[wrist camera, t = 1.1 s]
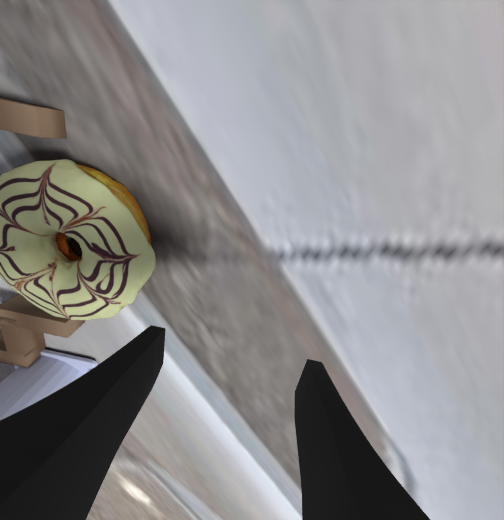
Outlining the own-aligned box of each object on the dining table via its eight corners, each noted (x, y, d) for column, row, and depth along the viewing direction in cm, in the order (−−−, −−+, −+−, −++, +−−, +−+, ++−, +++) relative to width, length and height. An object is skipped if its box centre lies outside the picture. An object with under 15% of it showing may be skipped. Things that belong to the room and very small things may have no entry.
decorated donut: (191, 250, 19) (172, 273, 15) (103, 319, 22) (71, 351, 19) (76, 123, 16) (21, 117, 12) (-6, 224, 19) (-67, 242, 16)
